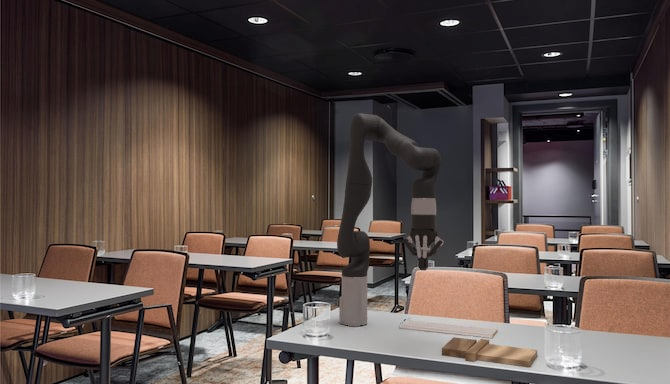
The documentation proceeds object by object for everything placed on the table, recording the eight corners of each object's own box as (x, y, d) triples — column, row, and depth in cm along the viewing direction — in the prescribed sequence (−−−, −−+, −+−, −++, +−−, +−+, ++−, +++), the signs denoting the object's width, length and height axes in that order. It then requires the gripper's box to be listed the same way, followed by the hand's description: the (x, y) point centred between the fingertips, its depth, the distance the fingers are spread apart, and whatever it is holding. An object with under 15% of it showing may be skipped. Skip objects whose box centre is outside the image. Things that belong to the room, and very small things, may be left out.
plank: (441, 348, 153) (466, 351, 150) (453, 337, 166) (476, 339, 163) (441, 356, 153) (466, 360, 150) (453, 345, 166) (476, 348, 163)
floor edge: (465, 360, 148) (465, 352, 148) (480, 346, 163) (480, 338, 163) (528, 369, 140) (528, 360, 140) (538, 353, 155) (538, 345, 155)
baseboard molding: (491, 341, 171) (497, 333, 182) (491, 332, 171) (497, 325, 182) (398, 331, 185) (409, 324, 196) (398, 322, 185) (409, 316, 196)
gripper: (398, 212, 164) (398, 269, 164) (440, 213, 157) (440, 273, 157) (407, 212, 170) (407, 267, 170) (448, 213, 164) (448, 270, 164)
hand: (423, 270), depth 164 cm, fingers closed
